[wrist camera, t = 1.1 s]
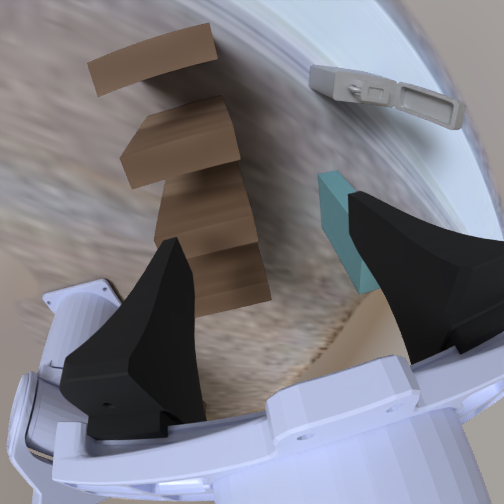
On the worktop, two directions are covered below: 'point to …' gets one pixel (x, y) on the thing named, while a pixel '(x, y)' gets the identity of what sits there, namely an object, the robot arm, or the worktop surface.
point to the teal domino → (342, 229)
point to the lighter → (387, 94)
